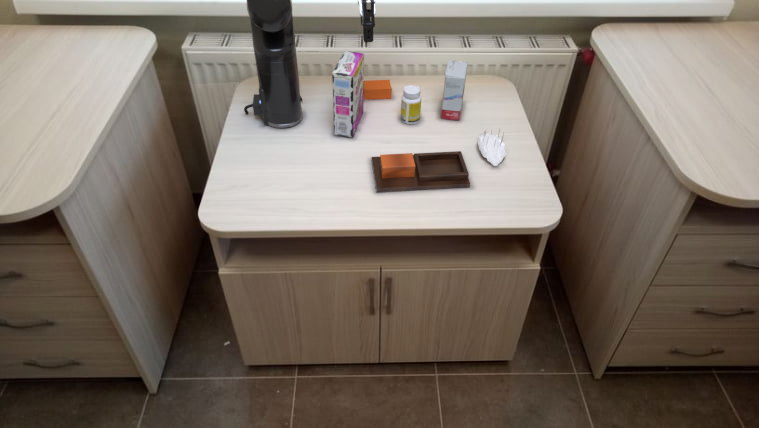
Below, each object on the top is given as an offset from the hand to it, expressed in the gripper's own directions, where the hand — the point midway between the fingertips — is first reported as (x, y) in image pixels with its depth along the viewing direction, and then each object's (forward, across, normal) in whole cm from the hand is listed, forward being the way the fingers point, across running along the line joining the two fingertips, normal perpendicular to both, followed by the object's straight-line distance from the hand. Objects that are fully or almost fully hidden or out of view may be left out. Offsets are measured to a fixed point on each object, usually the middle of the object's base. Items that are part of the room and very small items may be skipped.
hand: (366, 33), depth 127 cm
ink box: (+19, +6, +21) cm, 29 cm away
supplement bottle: (+19, +9, +10) cm, 23 cm away
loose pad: (+18, -3, +2) cm, 19 cm away
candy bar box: (+18, +10, -5) cm, 22 cm away
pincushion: (+19, +23, +26) cm, 40 cm away
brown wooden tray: (+18, +30, +9) cm, 36 cm away
